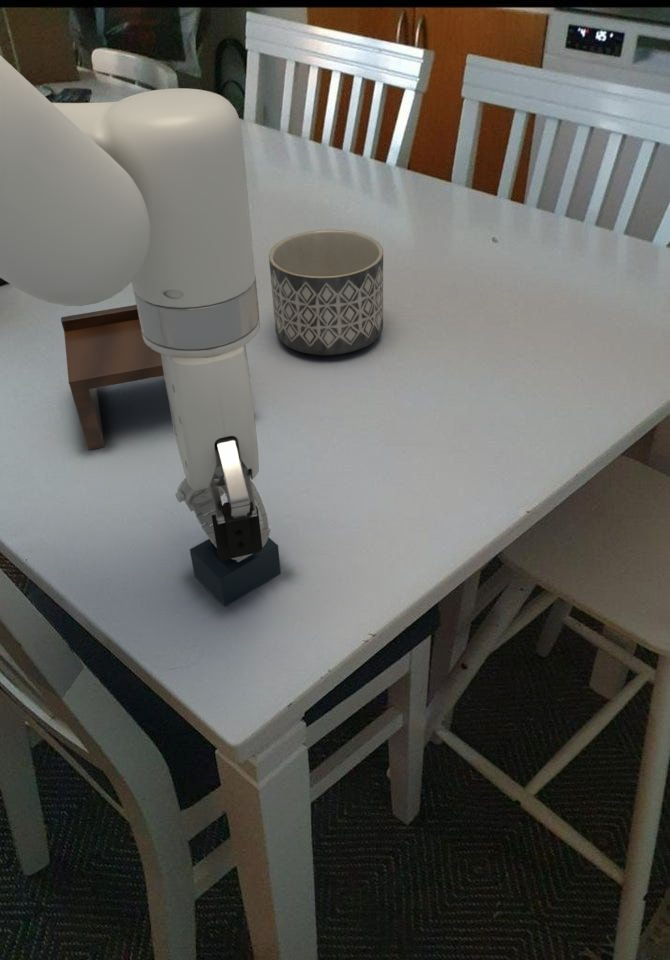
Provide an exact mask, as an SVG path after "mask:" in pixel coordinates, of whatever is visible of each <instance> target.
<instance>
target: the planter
mask: <svg viewBox="0 0 670 960" xmlns="http://www.w3.org/2000/svg"><path fill="white" fill-rule="evenodd" d="M269 250H270V251H269V253H268V263H269V273H270V283H271V284H270V286H271V295H272V305H273V307H272V308H273V316H274V327H275V328H274V329H275V333H276V336H277V338H278V339H279V341H280V342H281V343H282V344H283V345H285V346H286V347H287V348H290V349H292V350H294V351H297V352H299V353H304V354H308V355H314V356H338V355H344V354H348V353H353V352H357V351H360V350H361V349H364V348H366V347H368V346H369V345H370V346H371V344H373V343H374V342H375V341H376V340H378V339H379V337H380V336H381V334H382V331H383V329H384V248H383V246H382V244H381V243H380V242H379V241H377V240H376V239H375V238H374V237H371V236H370V235H367V234H363V233H361V232H357V231H352V230H346V229H345V230H344V229H316V230H309V231H304V232H300V233H296V234H293V235H290V236H287V237H286V238H284V239H281V240H280V241H278V242H277V243H275V244H274V245H273V246H272V247H271V249H269Z"/></svg>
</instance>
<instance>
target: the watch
mask: <svg viewBox="0 0 670 960" xmlns="http://www.w3.org/2000/svg"><path fill="white" fill-rule="evenodd" d="M218 476H223V475H222V470H221V466H219V467H216V469H215V472H214V477H218ZM250 480H251V485H252V490H253V495H254V500H255V505H256V506H257V508H258V513H259V522H260V531H261V539H262V550H261V551H260V552H258V553H254V554H249V555H245V556H241V557H236V558H232V559H227V560H220V559H219V556H218V553H217V546H216V540H215V534H214V528H213V522H212V516H211V515H215V510H214V505H213V500H212V495H211V491H210V486H209V488H207V489H201V490H199V491H195V490H194V489H192V488H191V487H190V486H189V485H188V483H187V480H186V477H185V478H184V479H183V480H182V481H181V482H180V484H179V485H178V487H177V490H176V491H177V492H175V497H176V498H175V499H176V500H177V501H178V502H179V503H182V502H184V503H185V504H186V506H187V508H188V509H189V511H190V512H193V513H194V515H195V518H196V519H197V521H198V523H199V525H200V527H201V529H202V530H203V532H204V533H205V535H206V536H207V538H208V539H205V540H204V541H202V542H200V543H198V544H196V545H195V546H193V547H191V548H189V554H190V559H191V565H192V570H193V576H194V578H195V579H196V580H197V581H198V582H199V583H200V584H201V585H202V586H203V587H204V589H206V590H207V591H208V592H209V593H210V594H211V595H212V596H213V597H214V598H215V599H216V600H217V601H218V602H219V603H220V604H221V605H222V606H223V607H227V606H229V605H230V604H231V603H234V602H235V601H237V600H238V599H241V598H242V597H243V596H246V595H247V594H249V593H250V592H251V591H254V590H255V589H256V588H259V587H260V586H262V585H263V584H265V583H266V582H268V581H270V580H271V579H273V578H275V577H277V576H278V575H280V574H281V563H280V562H281V561H280V551H279V545H278V543H276V542H275V541H274V540H273V539H271V538H270V533H271V527H269V520H268V514H267V511H266V507H265V505H264V503H263V500H262V497H261V495H260V493H259V491H258V488H257V487H256V485H255V483H254V481H252V479H251V478H250ZM218 487H219V492H220V496H221V497H222V496H224V495H225V497H226V498H227V492H226V487H225V485H223V486H218Z"/></svg>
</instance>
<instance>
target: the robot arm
mask: <svg viewBox="0 0 670 960" xmlns="http://www.w3.org/2000/svg"><path fill="white" fill-rule="evenodd" d="M243 137H244V136H243V131H242V123H241V120H240V117H239V114H238V112H237V110H236V108H235V107H234V106H233V104H232V103H231V102H230V100H228V99H226V98H225V97H224V96H223V95H221V94H218V93H217V92H213V91H209V90H203V89H199V88H188V87H187V88H186V87H185V88H180V87H177V88H175V87H174V88H161V89H154V90H149V91H148V90H147V91H144V92H139V93H136V94H132V95H130V96H127V97H124V98H122V99H120V100H117V101H104V102H103V101H102V102H51V100H49V99H48V98H47V97H46V96H45V95H44V94H43V93H42V92H41V91H40V90H38V88H36V87H35V85H33V84H32V83H31V82H30V81H29V80H28V79H27V78H26V77H25V76H24V75H22V74H21V73H20V72H19V71H18V70H17V69H16V68H15V67H14V66H13V65H12V64H11V63H9V62H8V61H7V60H6V59H5V58H4V57H3V56H2V55H1V54H0V279H2V280H3V281H5V282H6V283H7V284H10V285H11V286H13V288H16V289H17V290H18V291H20V292H22V293H25V294H27V295H29V296H31V297H33V298H36V299H38V300H41V301H44V302H47V303H49V304H54V305H59V306H64V307H83V306H88V305H94V304H98V303H101V302H104V301H106V300H109V299H111V298H113V297H115V296H116V295H118V294H119V293H121V292H123V291H125V289H126V288H127V287H128V286H129V285H130V284H131V286H132V291H133V295H134V300H135V301H134V302H135V305H136V306H137V311H138V316H139V321H140V326H141V331H142V337H143V340H144V342H145V343H146V344H147V346H149V347H150V348H151V349H152V350H154V351H156V352H159V353H161V359H162V366H163V372H164V376H163V377H164V382H165V388H166V394H167V399H168V404H169V410H170V416H171V417H170V418H171V423H172V428H173V429H172V430H173V434H174V437H175V441H176V446H177V449H178V454H179V458H180V461H181V464H182V468H183V472H184V476H185V478H186V480H187V483H188V485H189V486H190V487H191V488H192V489H194V490H195V491H199V490H201V489H207V488H209V486H210V491H211V495H212V500H213V505H214V510H215V515H211V516H212V522H213V524H212V525H213V528H214V534H215V540H216V546H217V553H218V556H219V559H220V560H227V559H232V558H236V557H241V556H245V555H249V554H254V553H258V552H260V551H261V550H262V539H261V531H260V522H259V513H258V508H257V506H256V505H255V500H254V495H253V490H252V485H251V481H252V480H254V479H255V478H256V477H257V475H258V474H259V471H260V461H259V460H260V459H259V448H258V447H259V446H258V433H257V427H256V426H257V425H256V418H255V417H256V416H255V407H254V399H253V392H252V391H253V390H252V384H251V373H250V368H249V367H250V366H249V361H248V360H249V359H248V353H247V346H246V345H247V344H248V343H250V342H251V341H252V340H253V339H255V337H256V336H257V335H258V333H259V331H260V328H261V318H260V309H259V300H258V299H259V298H258V290H257V289H258V288H257V287H258V286H257V277H256V269H255V258H254V247H253V235H252V226H251V214H250V203H249V191H248V180H247V171H246V159H245V149H244V147H245V146H244V138H243ZM219 466H221V470H222V475H223V476H218V477H214V472H215V469H216V467H219ZM250 479H251V480H250ZM223 485H225V487H226V492H227V497H226V499H227V501H226V502H222V501H223V500H222V496H220V492H219V487H218V486H223ZM214 510H213V511H214Z"/></svg>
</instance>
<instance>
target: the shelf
mask: <svg viewBox="0 0 670 960" xmlns="http://www.w3.org/2000/svg"><path fill="white" fill-rule="evenodd" d="M60 322H61V325H62V329H63V330H62V331H63V335H64V346H65V347H64V348H65V358H66V367H67V378H68V385H69V389H70V391H71V395H72V398H73V402H74V407H75V409H76V412H77V416H78V419H79V422H80V426H81V430H82V433H83V437H84V440H85V444H86V447H87V450H88V451H91V450H96V449H101V448H105V440H104V433H103V426H102V419H101V412H100V411H101V410H100V405H99V398H98V397H99V396H98V389H99V388H104V387H109V386H110V387H111V386H115V385H120V384H126V383H131V382H137V381H142V380H148V379H153V378H154V379H155V378H158V377H164V372H163V366H162V359H161V353H159V352H156V351H154V350H152V349H151V348H150V347H149V346H147V344H146V343H145V342H144V340H143V337H142V331H141V326H140V321H139V316H138V311H137V306H136V304H133V305H126V306H120V307H114V308H108V309H102V310H95V311H89V312H85V313H78V314H71V315H66V316H61V317H60Z"/></svg>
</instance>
